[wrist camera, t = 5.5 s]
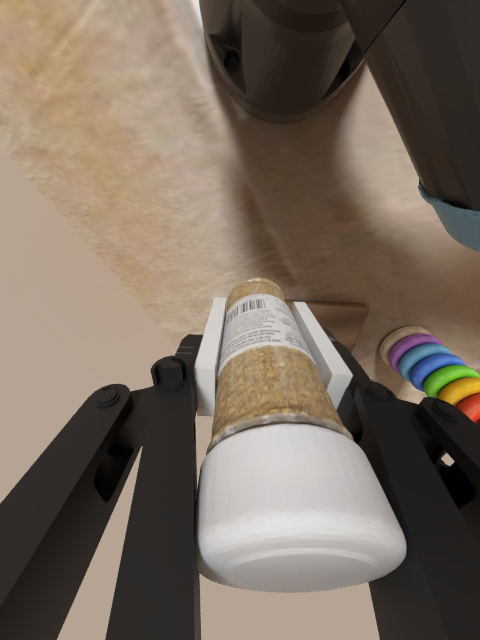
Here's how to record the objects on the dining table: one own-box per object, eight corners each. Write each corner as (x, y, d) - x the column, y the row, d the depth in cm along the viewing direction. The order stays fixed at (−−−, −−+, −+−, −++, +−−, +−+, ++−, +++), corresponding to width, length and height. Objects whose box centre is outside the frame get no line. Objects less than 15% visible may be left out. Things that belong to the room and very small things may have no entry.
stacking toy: (376, 366, 37) (487, 494, 20) (376, 331, 33) (510, 452, 17) (424, 355, 35) (582, 482, 19) (429, 317, 32) (630, 434, 15)
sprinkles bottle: (234, 332, 17) (218, 602, 5) (220, 281, 15) (143, 549, 3) (288, 322, 17) (399, 596, 5) (281, 268, 14) (452, 530, 3)
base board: (258, 298, 30) (259, 302, 29) (363, 303, 31) (369, 308, 29) (250, 377, 38) (250, 383, 37) (334, 380, 38) (337, 386, 37)
